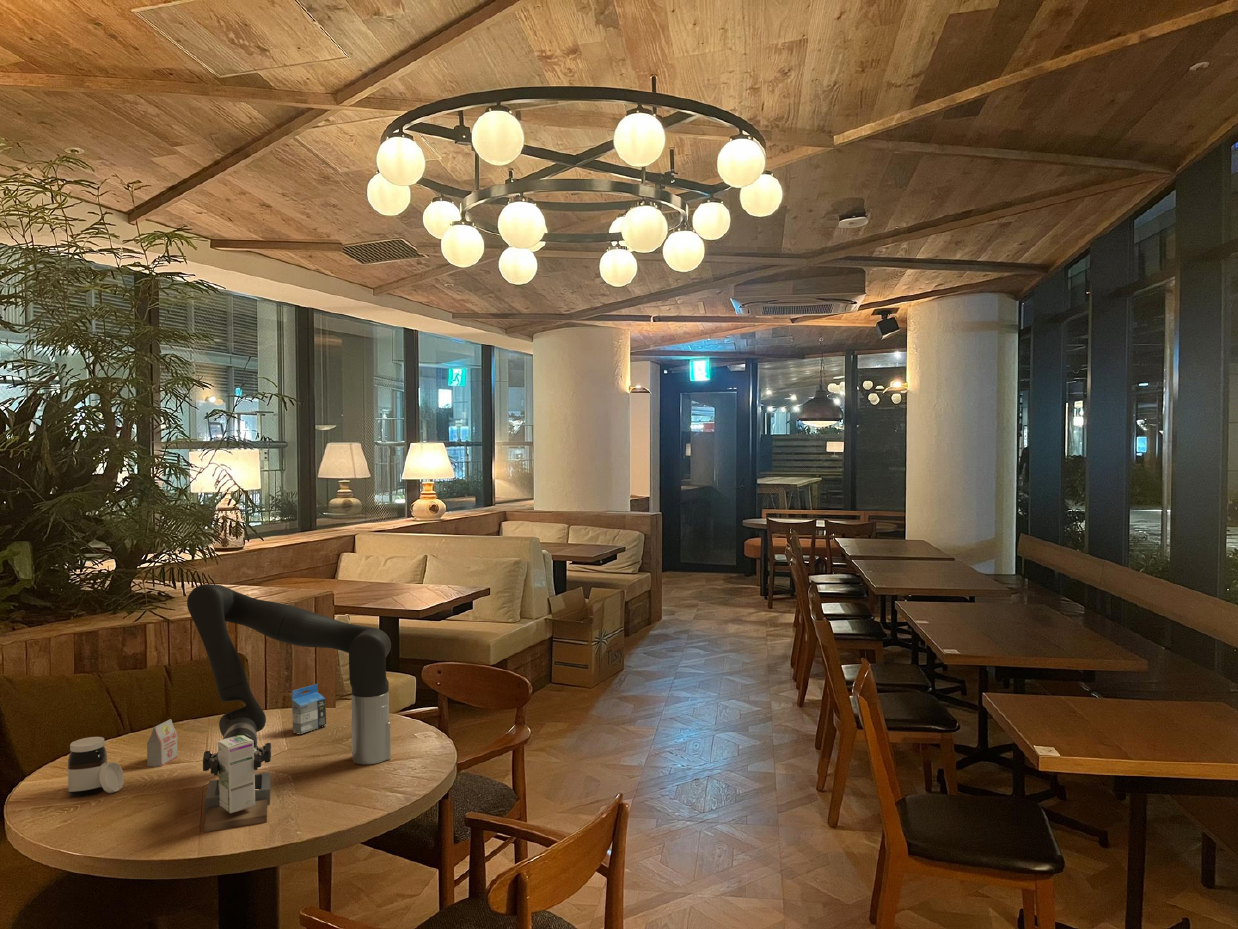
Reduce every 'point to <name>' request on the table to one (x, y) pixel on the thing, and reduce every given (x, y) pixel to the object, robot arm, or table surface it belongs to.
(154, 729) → the white gable top carton
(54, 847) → the table surface
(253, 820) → the walnut pad
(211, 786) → the gray open storage bin
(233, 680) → the robot arm
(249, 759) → the syrup box
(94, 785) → the spread jar
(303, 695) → the label tape box
